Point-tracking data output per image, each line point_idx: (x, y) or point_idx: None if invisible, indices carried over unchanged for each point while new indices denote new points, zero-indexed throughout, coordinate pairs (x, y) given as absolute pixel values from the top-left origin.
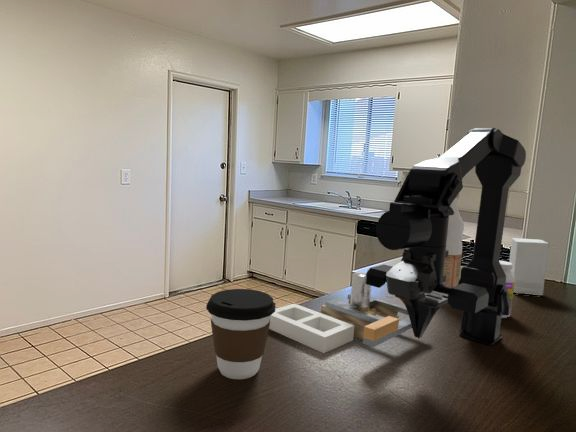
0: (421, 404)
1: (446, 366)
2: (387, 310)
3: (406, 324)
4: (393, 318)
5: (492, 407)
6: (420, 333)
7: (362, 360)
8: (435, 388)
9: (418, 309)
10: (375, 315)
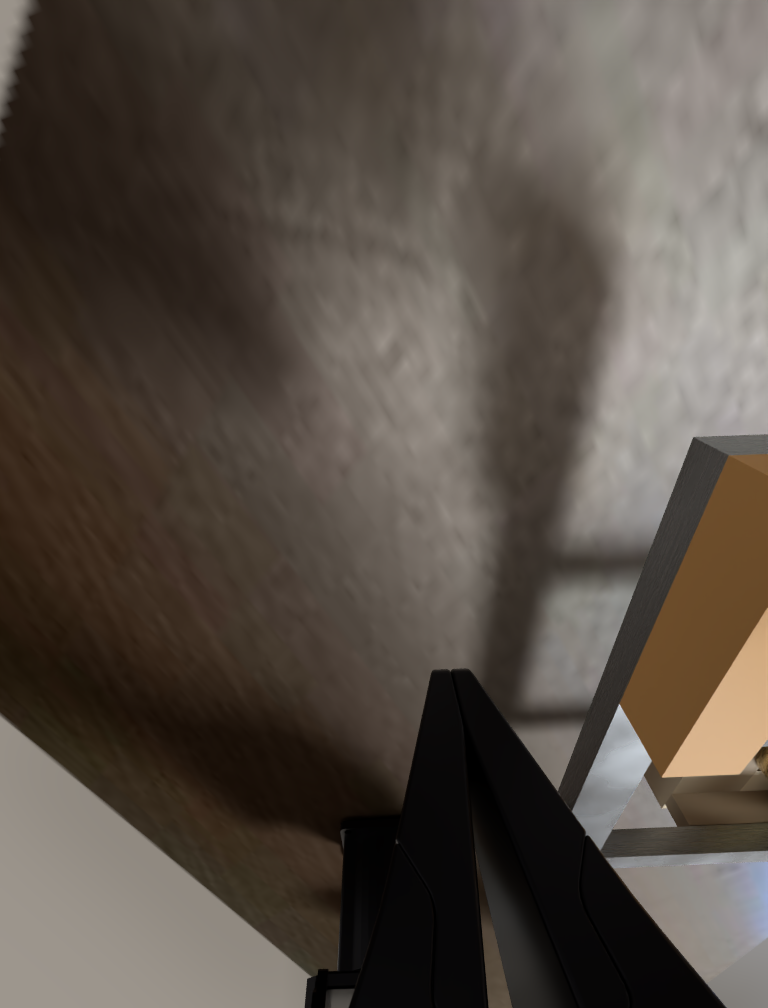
0: (226, 279)
1: (362, 653)
2: (723, 813)
3: (600, 768)
4: (700, 764)
5: (65, 525)
6: (425, 704)
7: (678, 440)
8: (286, 481)
9: (542, 1005)
10: (761, 762)
